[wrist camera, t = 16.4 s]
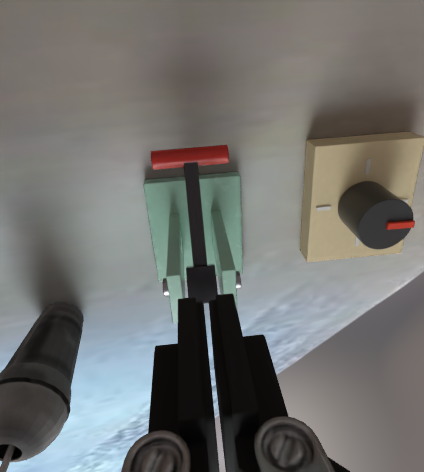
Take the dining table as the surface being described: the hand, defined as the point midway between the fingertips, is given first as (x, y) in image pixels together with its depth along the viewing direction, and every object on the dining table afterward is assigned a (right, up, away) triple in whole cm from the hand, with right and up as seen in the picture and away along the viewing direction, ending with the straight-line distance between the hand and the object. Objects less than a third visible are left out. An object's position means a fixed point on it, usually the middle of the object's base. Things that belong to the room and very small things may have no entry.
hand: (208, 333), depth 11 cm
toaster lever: (-1, +4, +19) cm, 19 cm away
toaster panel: (+14, +7, +26) cm, 31 cm away
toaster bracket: (-1, +4, +26) cm, 27 cm away
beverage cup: (-17, -6, +30) cm, 35 cm away
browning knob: (+14, +6, +24) cm, 28 cm away
